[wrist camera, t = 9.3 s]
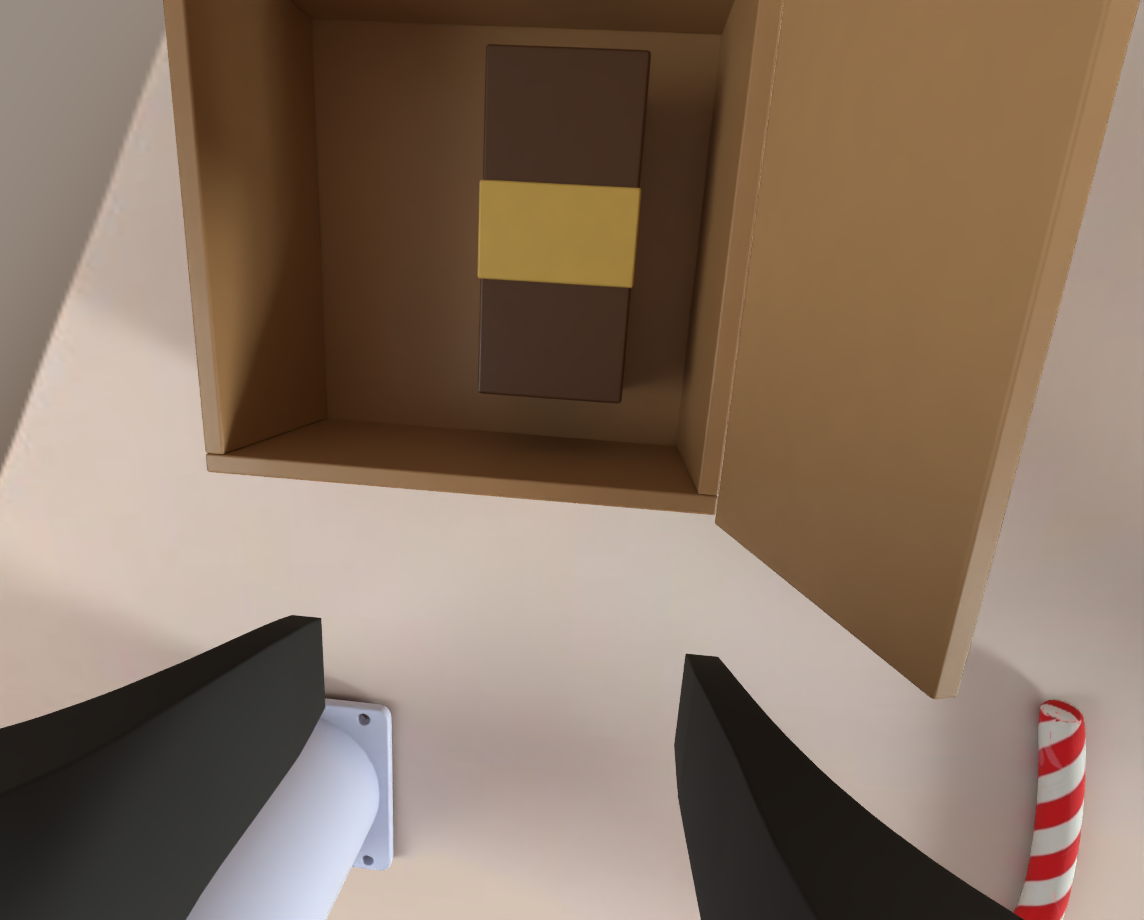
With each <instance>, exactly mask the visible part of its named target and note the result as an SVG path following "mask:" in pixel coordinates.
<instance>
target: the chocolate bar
mask: <svg viewBox="0 0 1144 920" xmlns="http://www.w3.org/2000/svg"><path fill="white" fill-rule="evenodd" d="M650 62H651V53H650V51H648V50H631V49H605V48H580V47H554V46H529V45H503V44H488V45H487V46H486V62H485V104H484V146H483V180H480V186H479V230H478V274H477V275H478V278H480V313H479V355H478V392H479V393H481V394H495V395H508V396H522V397H535V398H548V399H562V400H575V401H588V402H602V403H615V404H618V403H621V401H622V389H623V378H624V366H625V354H626V343H627V331H628V319H629V308H630V296H631V289H632V287H633V285H634V273H635V262H636V250H637V238H638V227H639V215H640V204H641V192H642V191H641V189H640V179H641V167H642V156H643V144H644V132H645V121H646V109H647V97H648V86H649V74H650Z"/></svg>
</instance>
